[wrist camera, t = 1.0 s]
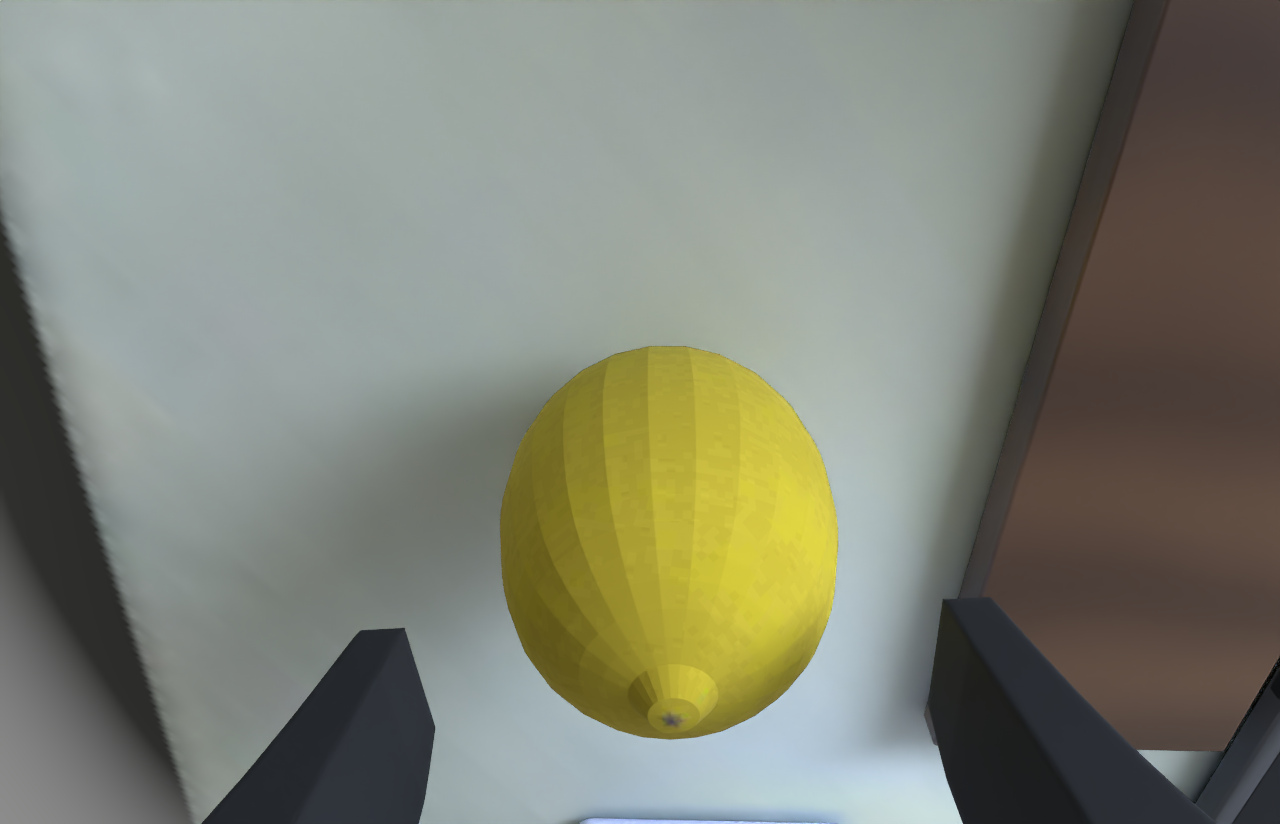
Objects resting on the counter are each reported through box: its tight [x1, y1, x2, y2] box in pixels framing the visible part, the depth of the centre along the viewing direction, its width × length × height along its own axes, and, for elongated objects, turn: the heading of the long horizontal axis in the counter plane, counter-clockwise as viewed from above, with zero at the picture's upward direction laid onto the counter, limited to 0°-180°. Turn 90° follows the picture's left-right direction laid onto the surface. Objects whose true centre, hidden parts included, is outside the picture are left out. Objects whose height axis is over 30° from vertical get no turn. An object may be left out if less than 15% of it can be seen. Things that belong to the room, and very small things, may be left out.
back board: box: [924, 0, 1280, 752], centre depth 17 cm, size 20×8×1 cm, turn 179°
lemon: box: [500, 346, 838, 739], centre depth 15 cm, size 6×6×8 cm
